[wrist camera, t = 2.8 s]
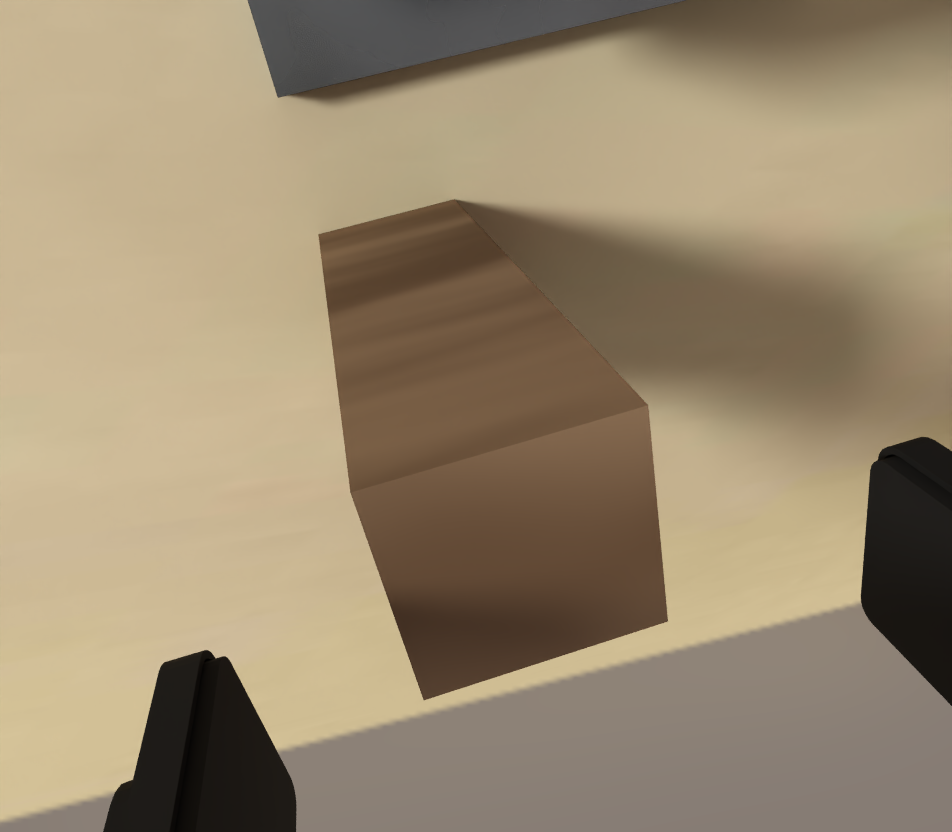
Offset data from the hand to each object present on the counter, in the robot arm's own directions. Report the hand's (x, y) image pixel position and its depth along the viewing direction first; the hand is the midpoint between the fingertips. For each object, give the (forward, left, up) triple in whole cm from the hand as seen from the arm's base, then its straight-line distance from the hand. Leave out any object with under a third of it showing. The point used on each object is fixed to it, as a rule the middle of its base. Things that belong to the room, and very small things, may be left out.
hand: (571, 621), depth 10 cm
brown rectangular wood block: (0, 0, -15) cm, 15 cm away
